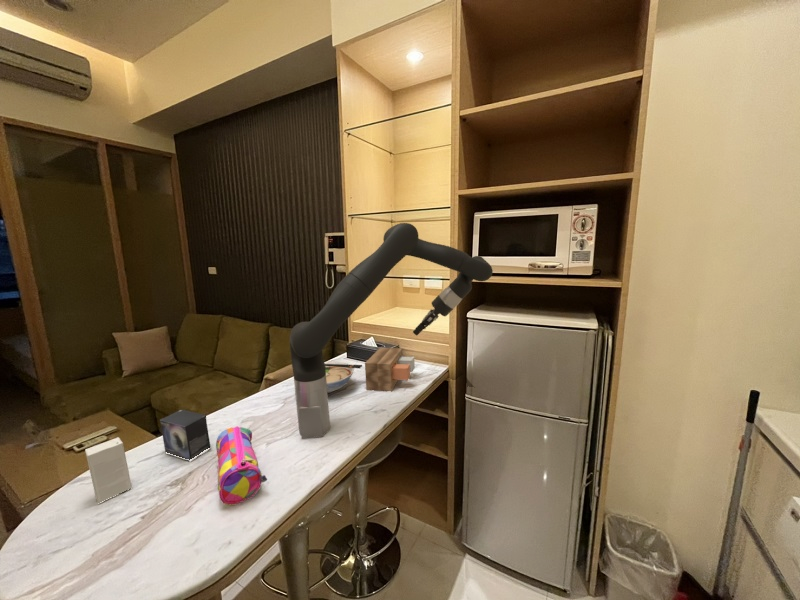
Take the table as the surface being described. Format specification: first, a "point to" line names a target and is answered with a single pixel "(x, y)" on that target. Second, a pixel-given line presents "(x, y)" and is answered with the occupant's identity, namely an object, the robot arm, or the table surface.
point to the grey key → (407, 362)
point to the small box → (185, 434)
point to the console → (381, 369)
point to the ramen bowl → (338, 374)
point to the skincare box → (108, 469)
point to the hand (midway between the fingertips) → (416, 332)
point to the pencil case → (237, 466)
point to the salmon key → (401, 371)
